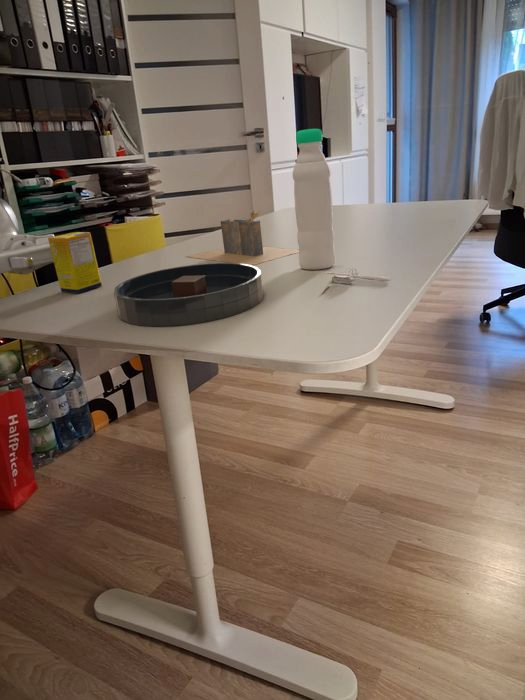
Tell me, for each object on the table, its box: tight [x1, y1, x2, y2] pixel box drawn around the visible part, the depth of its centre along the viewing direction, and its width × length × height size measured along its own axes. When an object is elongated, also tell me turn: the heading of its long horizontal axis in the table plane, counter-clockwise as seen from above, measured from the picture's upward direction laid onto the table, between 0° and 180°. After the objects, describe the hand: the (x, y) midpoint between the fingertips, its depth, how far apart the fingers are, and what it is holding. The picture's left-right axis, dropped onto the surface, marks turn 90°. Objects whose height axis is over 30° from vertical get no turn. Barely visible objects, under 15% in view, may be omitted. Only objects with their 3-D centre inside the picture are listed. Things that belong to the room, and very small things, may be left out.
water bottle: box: [292, 128, 336, 271], centre depth 98 cm, size 7×7×25 cm
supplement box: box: [48, 231, 103, 295], centre depth 103 cm, size 6×6×11 cm
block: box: [171, 276, 207, 298], centre depth 84 cm, size 4×4×4 cm
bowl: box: [113, 262, 264, 327], centre depth 84 cm, size 23×23×4 cm
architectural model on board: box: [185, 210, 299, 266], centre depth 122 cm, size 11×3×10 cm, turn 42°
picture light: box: [323, 267, 391, 285], centre depth 89 cm, size 14×4×2 cm, turn 46°
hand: (50, 257), depth 109 cm, fingers open, 8 cm apart
